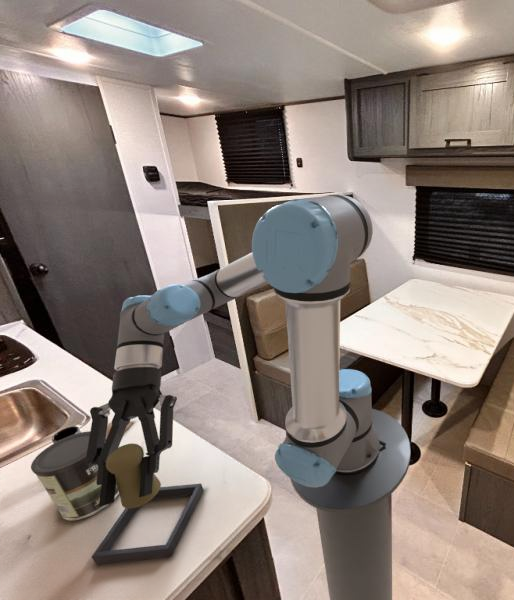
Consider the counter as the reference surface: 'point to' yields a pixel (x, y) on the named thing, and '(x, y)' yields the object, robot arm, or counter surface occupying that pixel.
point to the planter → (65, 433)
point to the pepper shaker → (130, 475)
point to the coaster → (111, 425)
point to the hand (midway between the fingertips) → (126, 499)
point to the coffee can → (70, 477)
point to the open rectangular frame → (150, 552)
